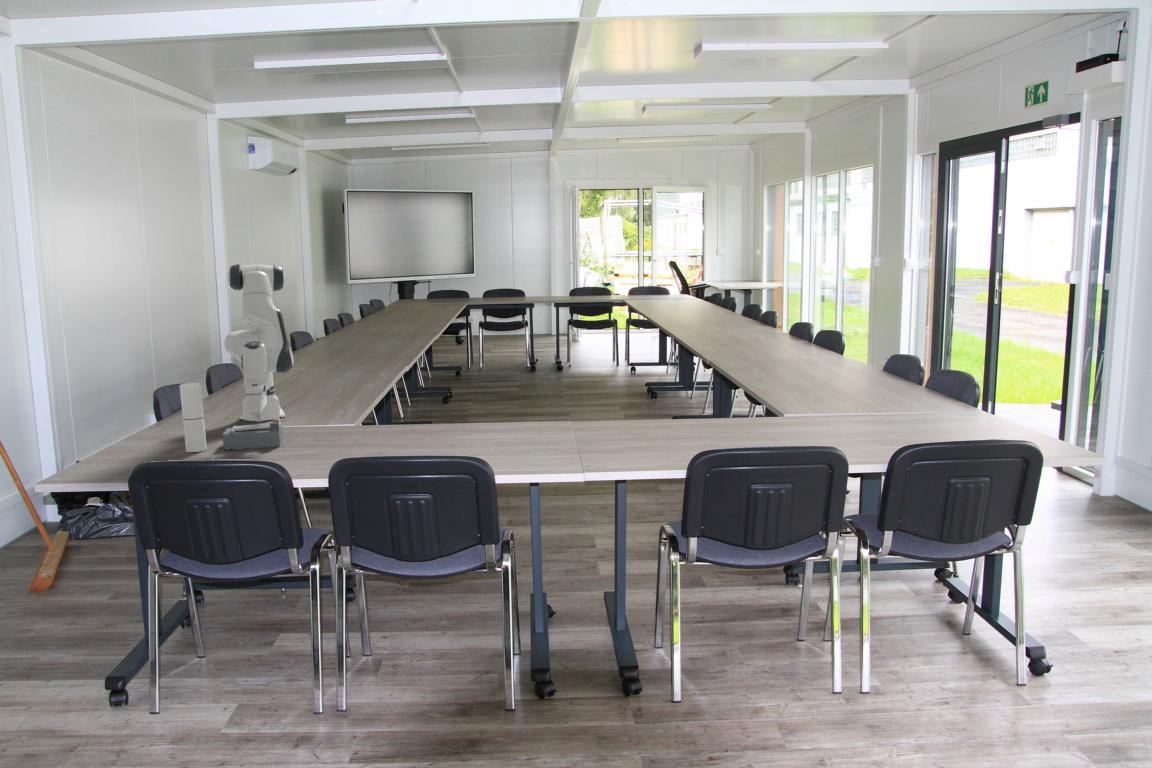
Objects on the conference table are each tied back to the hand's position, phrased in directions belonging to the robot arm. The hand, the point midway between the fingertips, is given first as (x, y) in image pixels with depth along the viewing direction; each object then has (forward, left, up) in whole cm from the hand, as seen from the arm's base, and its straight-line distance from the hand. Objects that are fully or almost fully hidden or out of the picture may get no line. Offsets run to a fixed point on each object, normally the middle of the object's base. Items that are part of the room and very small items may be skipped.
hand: (260, 420), depth 329 cm
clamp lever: (0, -1, -2) cm, 3 cm away
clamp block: (0, -3, -9) cm, 10 cm away
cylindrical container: (+3, -23, -9) cm, 25 cm away
